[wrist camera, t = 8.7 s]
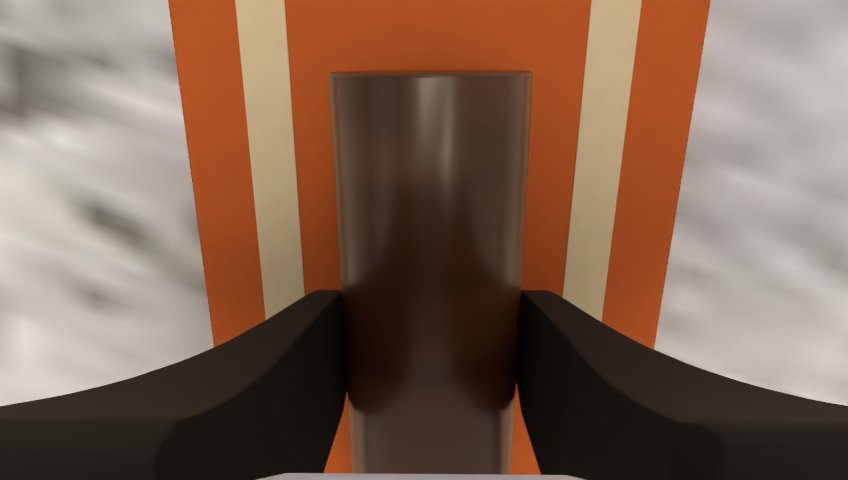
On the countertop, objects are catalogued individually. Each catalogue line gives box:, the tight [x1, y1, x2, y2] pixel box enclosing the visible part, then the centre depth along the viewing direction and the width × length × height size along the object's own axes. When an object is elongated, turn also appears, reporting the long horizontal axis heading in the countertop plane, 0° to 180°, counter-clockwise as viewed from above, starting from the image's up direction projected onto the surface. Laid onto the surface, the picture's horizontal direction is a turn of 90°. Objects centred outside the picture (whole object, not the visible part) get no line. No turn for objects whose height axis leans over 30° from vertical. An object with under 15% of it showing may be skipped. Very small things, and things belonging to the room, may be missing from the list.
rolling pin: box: [328, 70, 533, 475], centre depth 11 cm, size 11×4×4 cm
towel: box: [168, 0, 710, 475], centre depth 13 cm, size 20×11×1 cm, turn 0°
